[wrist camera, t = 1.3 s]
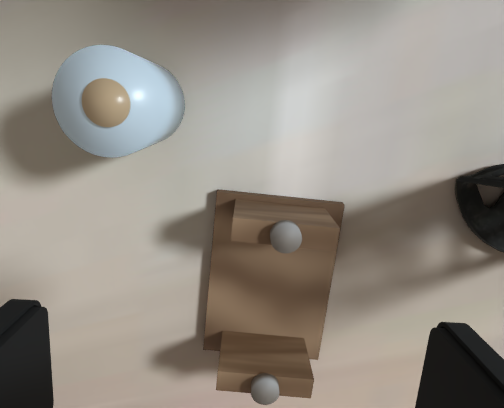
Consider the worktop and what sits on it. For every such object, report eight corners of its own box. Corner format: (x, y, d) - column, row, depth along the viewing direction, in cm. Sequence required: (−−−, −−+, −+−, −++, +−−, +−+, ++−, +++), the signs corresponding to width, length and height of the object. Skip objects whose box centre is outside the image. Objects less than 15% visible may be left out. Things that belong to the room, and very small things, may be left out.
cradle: (217, 189, 31) (209, 212, 24) (342, 202, 31) (367, 228, 24) (204, 343, 34) (193, 401, 28) (316, 353, 35) (332, 412, 28)
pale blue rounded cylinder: (105, 56, 28) (48, 37, 20) (187, 65, 28) (163, 51, 21) (104, 139, 30) (51, 152, 22) (182, 147, 30) (158, 163, 22)
